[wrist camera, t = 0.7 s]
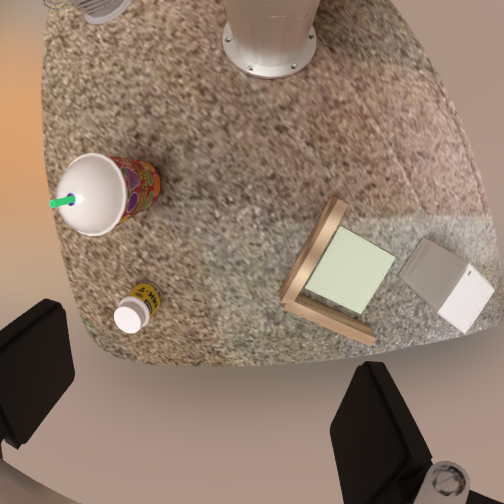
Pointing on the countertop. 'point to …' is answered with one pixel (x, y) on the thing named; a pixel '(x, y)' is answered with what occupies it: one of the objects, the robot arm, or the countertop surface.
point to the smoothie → (104, 192)
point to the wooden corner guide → (302, 271)
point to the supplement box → (447, 283)
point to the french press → (98, 9)
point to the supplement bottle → (138, 307)
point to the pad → (350, 270)
